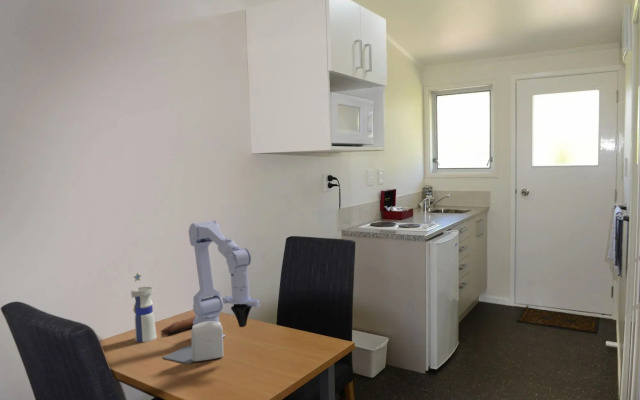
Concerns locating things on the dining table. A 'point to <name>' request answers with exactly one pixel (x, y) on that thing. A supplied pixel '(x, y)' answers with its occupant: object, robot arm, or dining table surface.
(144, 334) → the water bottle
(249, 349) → the dining table surface
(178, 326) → the sunglasses case
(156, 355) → the dining table surface
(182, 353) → the topple mat
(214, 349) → the photo printer
